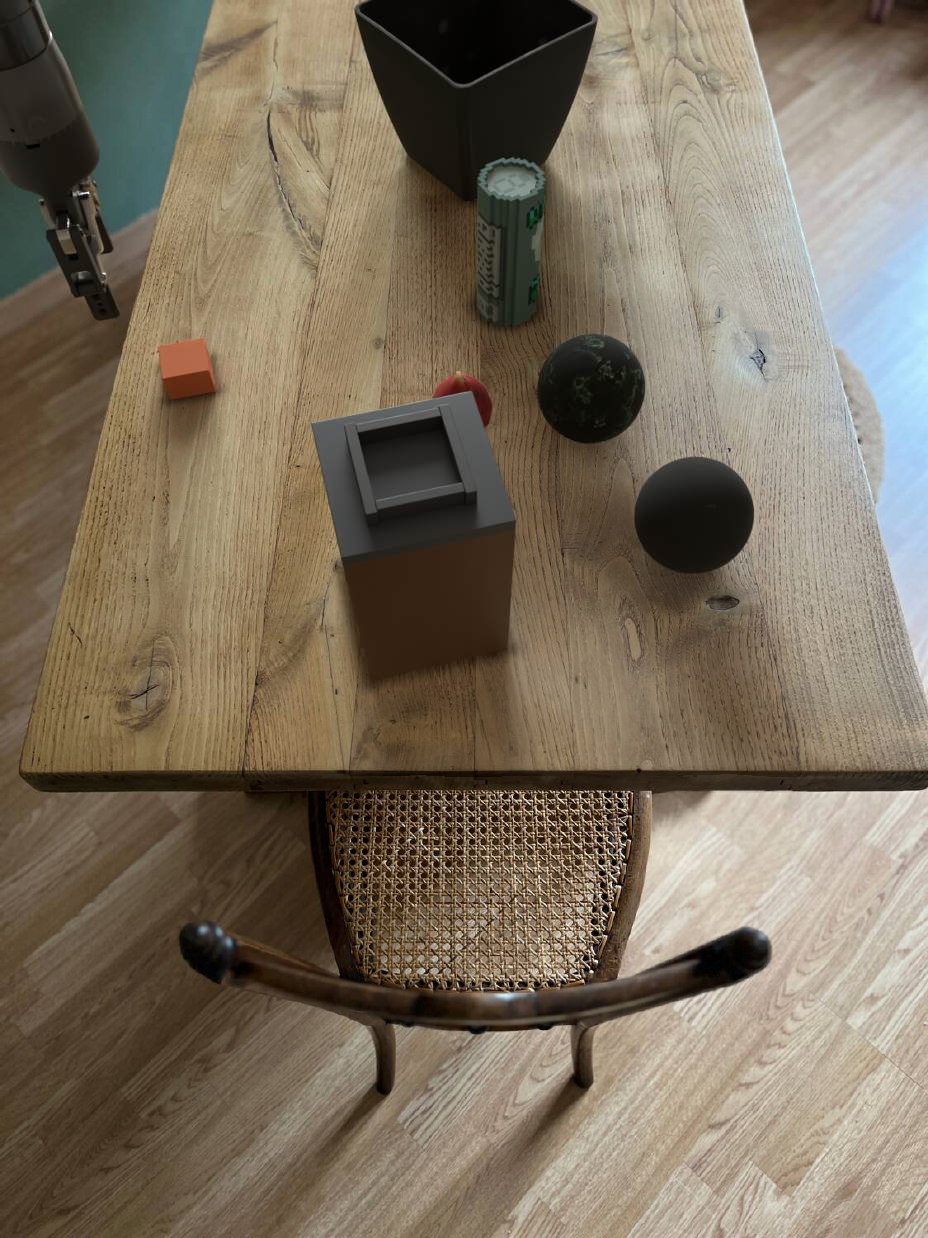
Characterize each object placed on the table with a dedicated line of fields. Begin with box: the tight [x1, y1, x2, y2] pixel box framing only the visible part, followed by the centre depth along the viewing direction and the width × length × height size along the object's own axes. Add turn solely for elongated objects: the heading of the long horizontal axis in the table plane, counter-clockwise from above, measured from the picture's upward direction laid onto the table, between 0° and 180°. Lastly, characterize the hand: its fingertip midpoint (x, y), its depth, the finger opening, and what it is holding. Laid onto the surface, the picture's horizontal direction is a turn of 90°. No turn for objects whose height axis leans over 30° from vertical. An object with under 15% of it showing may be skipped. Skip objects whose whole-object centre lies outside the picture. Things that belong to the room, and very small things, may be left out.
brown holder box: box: [310, 391, 517, 682], centre depth 72 cm, size 12×12×20 cm
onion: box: [431, 370, 493, 429], centre depth 86 cm, size 6×6×8 cm
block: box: [157, 337, 217, 401], centre depth 93 cm, size 5×5×3 cm
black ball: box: [633, 456, 755, 575], centre depth 79 cm, size 10×10×10 cm
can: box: [476, 157, 547, 327], centre depth 92 cm, size 6×6×15 cm
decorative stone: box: [536, 332, 646, 445], centre depth 86 cm, size 10×10×10 cm
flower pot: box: [353, 0, 599, 203], centre depth 103 cm, size 19×19×17 cm
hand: (105, 283), depth 82 cm, fingers open, 8 cm apart
